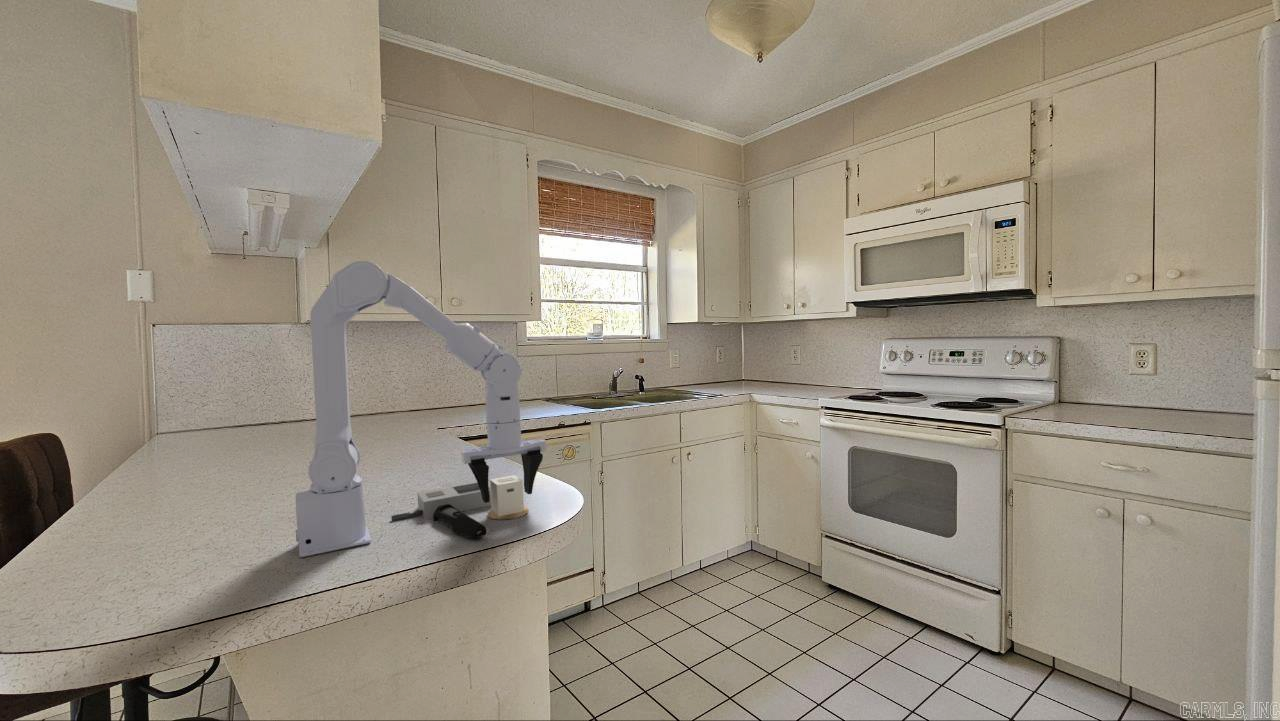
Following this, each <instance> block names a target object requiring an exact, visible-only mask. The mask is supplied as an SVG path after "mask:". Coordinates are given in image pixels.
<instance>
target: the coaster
mask: <svg viewBox="0 0 1280 721" xmlns="http://www.w3.org/2000/svg"><path fill="white" fill-rule="evenodd" d="M527 512H528V513H529V507H528V506H527V505H525V504H524V511H523V512H518V513H513V514H509V515H504V516H498V515H497V514H496V513H495V512H494V511H493V510H492V509H490V510H488V512H487V517H488V518H489V517H490V519H491V518H492V520H495V519H499V520H498V521H506V519H509V520H515V519H517V517H519V518H521V517H520V516H522V517H524V516H525V514H526V513H527ZM528 513H527V514H528ZM527 514H526V515H527ZM523 515H524V516H523ZM514 518H515V519H514Z"/></svg>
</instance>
